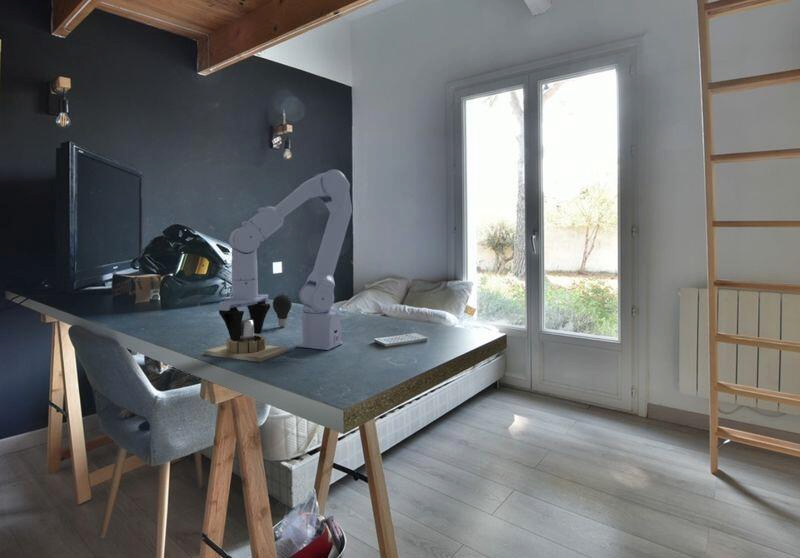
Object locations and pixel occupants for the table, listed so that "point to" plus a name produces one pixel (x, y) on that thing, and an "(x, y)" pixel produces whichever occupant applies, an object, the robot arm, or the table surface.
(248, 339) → the bayonet cap
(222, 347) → the socket base
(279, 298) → the light bulb
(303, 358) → the table surface
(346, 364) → the table surface
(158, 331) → the table surface
